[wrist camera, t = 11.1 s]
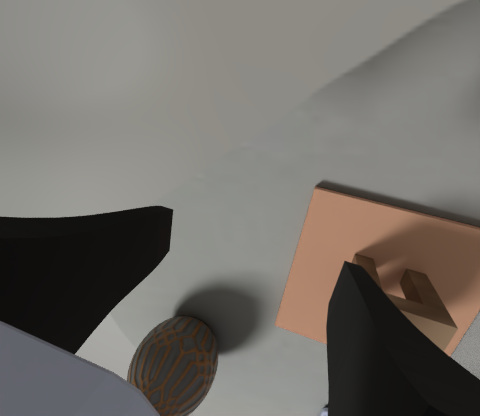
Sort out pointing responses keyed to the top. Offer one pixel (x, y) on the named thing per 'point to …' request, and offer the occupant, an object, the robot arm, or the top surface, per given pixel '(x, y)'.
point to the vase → (175, 365)
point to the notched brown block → (418, 303)
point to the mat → (379, 259)
